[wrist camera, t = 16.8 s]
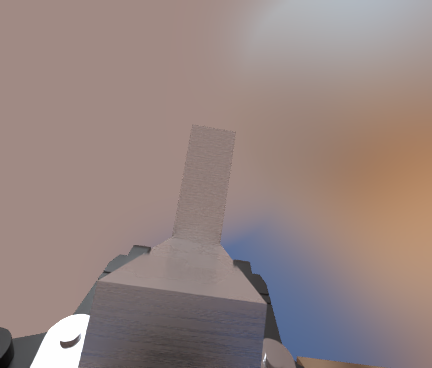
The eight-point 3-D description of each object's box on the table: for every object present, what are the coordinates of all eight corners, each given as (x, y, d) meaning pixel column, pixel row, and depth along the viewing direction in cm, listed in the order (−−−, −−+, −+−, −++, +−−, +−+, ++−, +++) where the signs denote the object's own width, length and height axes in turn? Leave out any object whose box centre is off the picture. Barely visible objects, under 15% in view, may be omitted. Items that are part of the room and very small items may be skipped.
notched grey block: (210, 281, 21) (229, 146, 24) (246, 510, 4) (300, -33, 7) (169, 275, 21) (193, 140, 23) (48, 492, 4) (175, -58, 7)
